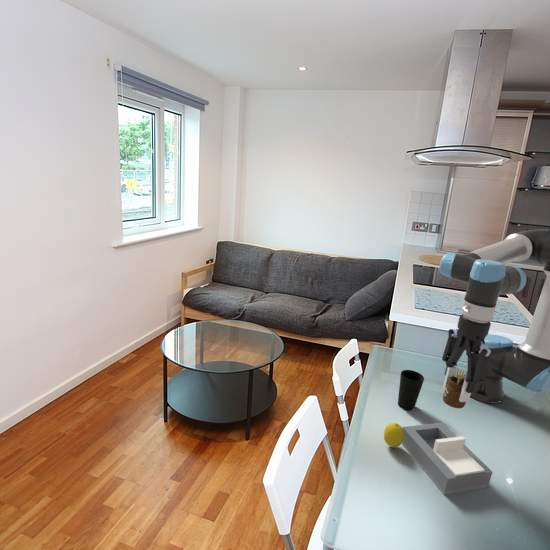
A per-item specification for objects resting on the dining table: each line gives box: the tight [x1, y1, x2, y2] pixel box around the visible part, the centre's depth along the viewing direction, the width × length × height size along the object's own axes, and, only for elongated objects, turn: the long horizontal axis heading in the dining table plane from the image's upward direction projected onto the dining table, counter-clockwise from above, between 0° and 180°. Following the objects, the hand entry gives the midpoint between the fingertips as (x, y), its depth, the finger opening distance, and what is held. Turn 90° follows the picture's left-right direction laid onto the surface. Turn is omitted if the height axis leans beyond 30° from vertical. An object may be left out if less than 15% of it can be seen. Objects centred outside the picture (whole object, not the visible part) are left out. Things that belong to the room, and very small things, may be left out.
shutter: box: [433, 435, 485, 476], centre depth 102 cm, size 9×9×4 cm
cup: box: [397, 369, 425, 412], centre depth 133 cm, size 8×8×12 cm
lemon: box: [383, 422, 404, 448], centre depth 112 cm, size 6×6×8 cm
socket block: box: [401, 422, 493, 496], centre depth 108 cm, size 14×20×5 cm
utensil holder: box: [442, 365, 468, 409], centre depth 107 cm, size 6×6×12 cm
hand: (455, 394), depth 108 cm, fingers closed on utensil holder, 6 cm apart
